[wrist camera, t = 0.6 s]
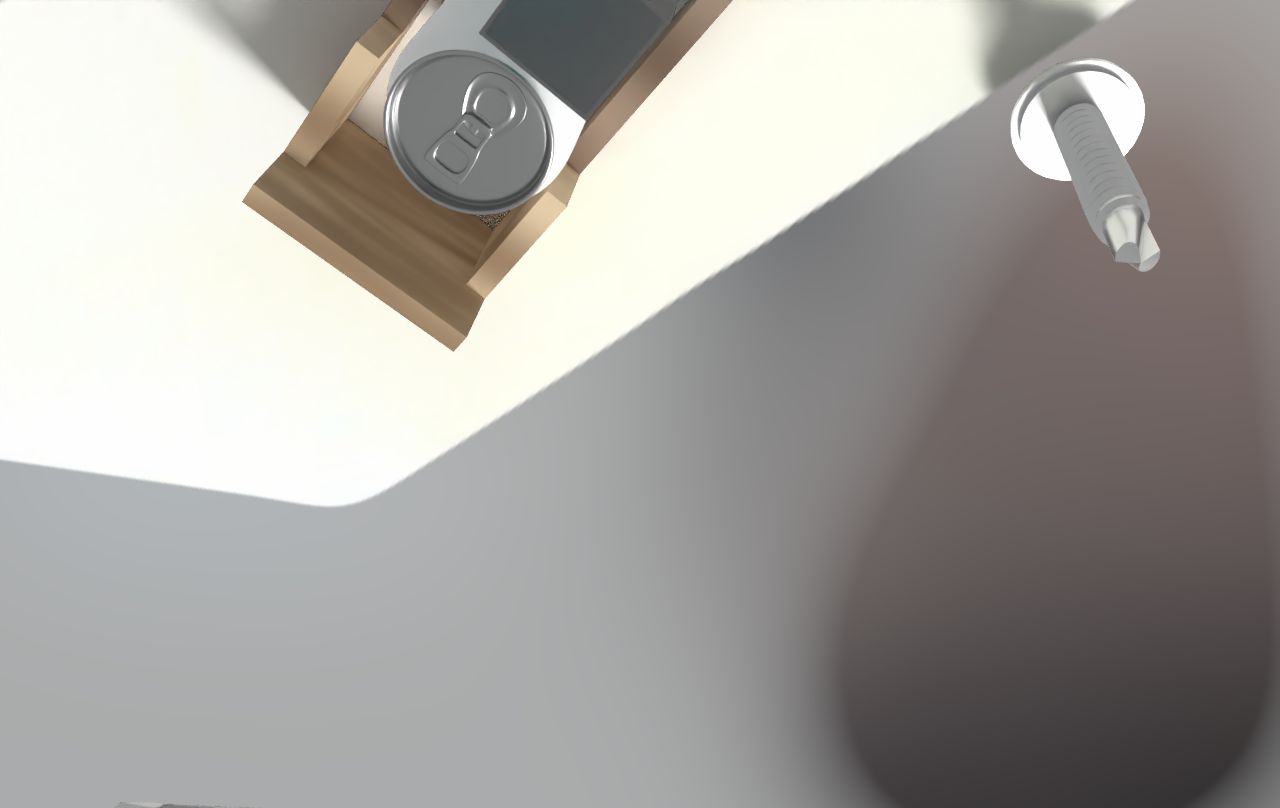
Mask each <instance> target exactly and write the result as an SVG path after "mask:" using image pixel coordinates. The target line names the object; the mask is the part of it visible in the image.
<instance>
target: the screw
mask: <svg viewBox="0 0 1280 808" xmlns="http://www.w3.org/2000/svg"><path fill="white" fill-rule="evenodd" d="M1143 120H1144V102H1143V97H1142V93H1141V91H1140V89H1139V87H1138V85H1137V83H1136V82H1135V80H1134V79H1133V78H1132V76H1131V75H1130V74H1129V73H1128V72H1127V71H1126V70H1125V69H1123V68H1121V67H1120V66H1118V65H1117V64H1115V63H1112V62H1110V61H1107V60H1104V59H1099V58H1087V57H1086V58H1077V59H1071V60H1067V61H1064V62H1061V63H1058V64H1056V65H1054V66H1052V67H1050V68H1048V69H1046V70H1045V71H1043V72H1042V73H1040V74H1039V75H1038V76H1037V77H1035V78H1034V79H1033V80H1032V81H1031V82H1030V83H1029V84H1028V85H1027V86H1026V88H1025V89H1024V90H1023V91H1022V93H1021V94H1020V96H1019V98H1018V100H1017V101H1016V103H1015V106H1014V109H1013V112H1012V115H1011V124H1010V132H1011V139H1012V143H1013V146H1014V148H1015V150H1016V152H1017V154H1018V156H1019V158H1020V159H1021V160H1022V161H1023V163H1024V164H1025V165H1026V166H1028V167H1029V168H1030V169H1031V170H1033V171H1034V172H1036V173H1038V174H1040V175H1042V176H1045V177H1047V178H1053V179H1057V180H1072V182H1073V184H1074V188H1075V190H1076V192H1077V195H1078V197H1079V199H1080V202H1081V205H1082V206H1083V210H1084V212H1085V214H1086V217H1087V220H1088V221H1089V223H1090V226H1091V228H1092V230H1093V231H1094V232H1095V233H1096V234H1097V237H1098V238H1099V239H1100V240H1101V241H1102V242H1103V243H1104V244H1106V245H1108V246H1109V248H1110V250H1111V253H1112V255H1113V257H1114V260H1115V262H1128V263H1129V264H1131V265H1132V266H1133V267H1135V268H1136V269H1138V270H1139V271H1148V270H1150V269H1151V268H1152V267H1153V266H1154V265H1155V264H1156V263H1157V261H1158V260H1159V256H1160V250H1159V248H1158V245H1157V243H1156V241H1155V239H1154V237H1153V235H1152V234H1151V231H1150V229H1149V227H1148V225H1147V223H1148V221H1149V218H1150V211H1149V208H1148V206H1147V201H1146V198H1145V196H1144V195H1143V193H1142V190H1141V188H1140V187H1139V184H1138V182H1137V180H1136V179H1135V177H1134V174H1133V172H1132V171H1131V168H1130V166H1129V165H1128V163H1127V160H1126V158H1125V157H1124V155H1125V154H1126V153H1127V152H1128V150H1129V149H1130V148H1131V147H1132V146H1133V144H1134V143H1135V141H1136V139H1137V137H1138V135H1139V133H1140V130H1141V127H1142V123H1143Z"/></svg>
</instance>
